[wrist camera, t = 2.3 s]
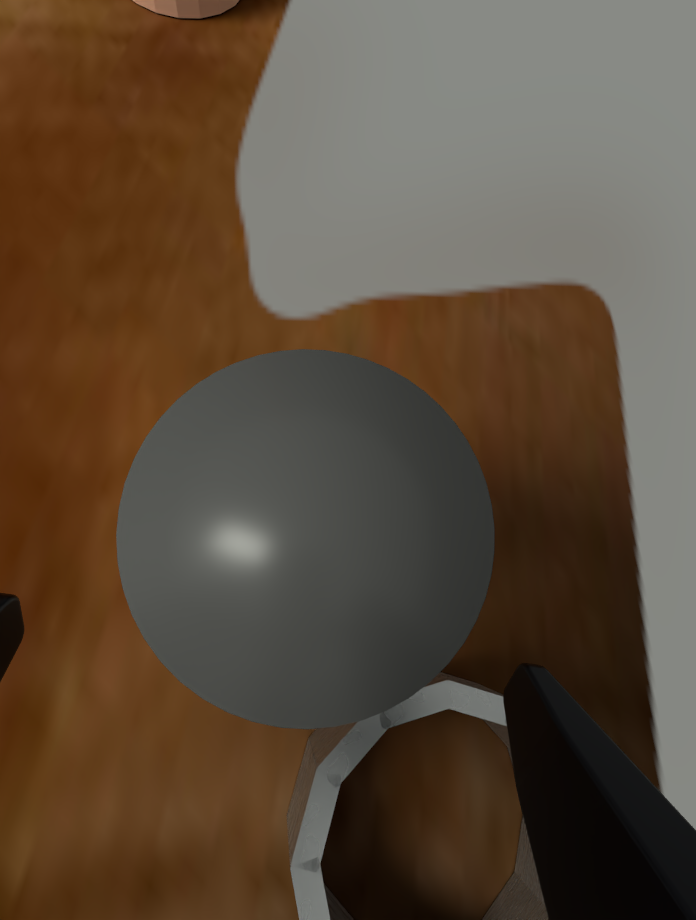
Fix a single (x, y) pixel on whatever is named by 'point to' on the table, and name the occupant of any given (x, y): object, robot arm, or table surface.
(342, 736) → the collar
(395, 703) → the peg
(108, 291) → the table surface
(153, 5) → the pepper shaker
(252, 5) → the table surface
